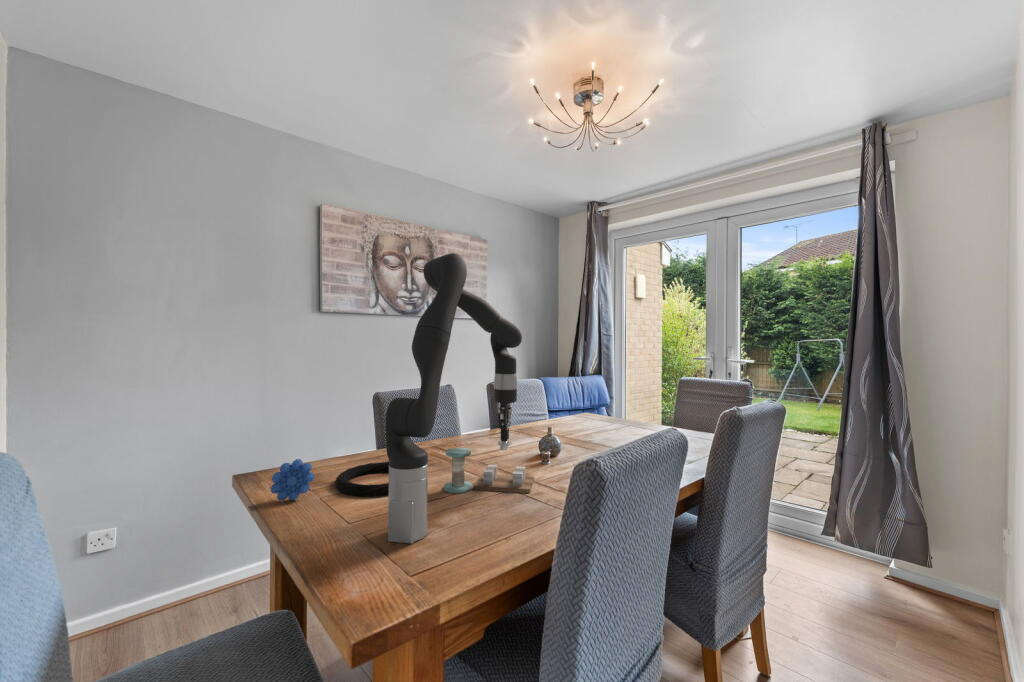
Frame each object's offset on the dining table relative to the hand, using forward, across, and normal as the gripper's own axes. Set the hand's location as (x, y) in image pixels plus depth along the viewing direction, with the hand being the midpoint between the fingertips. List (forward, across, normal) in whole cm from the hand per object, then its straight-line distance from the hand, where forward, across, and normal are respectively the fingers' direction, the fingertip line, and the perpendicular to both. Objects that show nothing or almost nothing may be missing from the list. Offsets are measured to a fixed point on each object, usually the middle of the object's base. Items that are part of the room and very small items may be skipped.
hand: (504, 440), depth 144 cm
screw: (+3, 0, 0) cm, 3 cm away
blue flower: (+15, -24, +59) cm, 65 cm away
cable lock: (+15, -4, +41) cm, 44 cm away
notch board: (+15, 0, 0) cm, 15 cm away
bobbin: (+15, -6, +14) cm, 21 cm away
